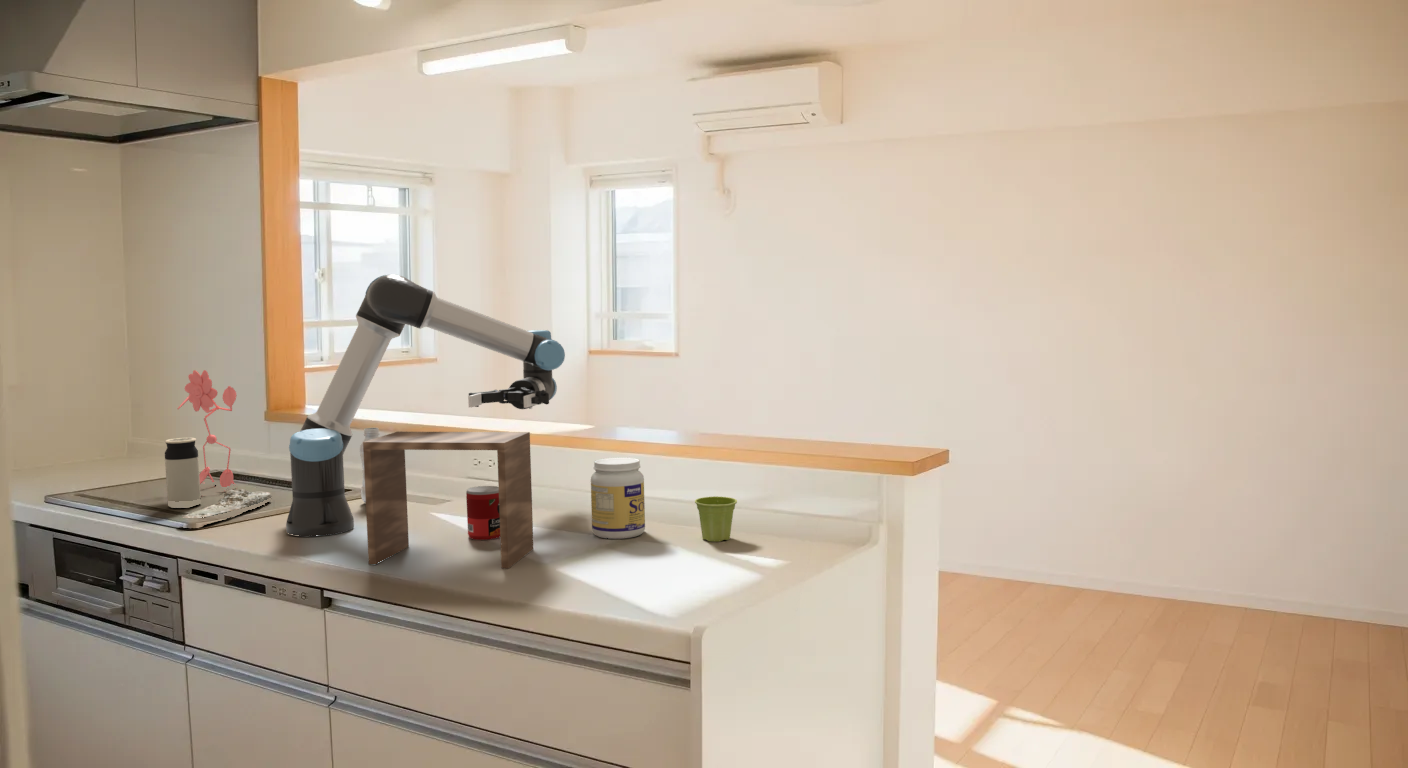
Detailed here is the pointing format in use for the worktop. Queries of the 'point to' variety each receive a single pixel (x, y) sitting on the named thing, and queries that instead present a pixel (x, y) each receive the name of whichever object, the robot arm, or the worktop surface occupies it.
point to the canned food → (483, 512)
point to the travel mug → (182, 470)
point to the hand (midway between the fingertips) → (497, 401)
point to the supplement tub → (617, 498)
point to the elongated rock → (231, 503)
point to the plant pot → (716, 517)
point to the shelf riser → (389, 450)
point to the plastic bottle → (369, 435)
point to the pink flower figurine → (203, 397)
